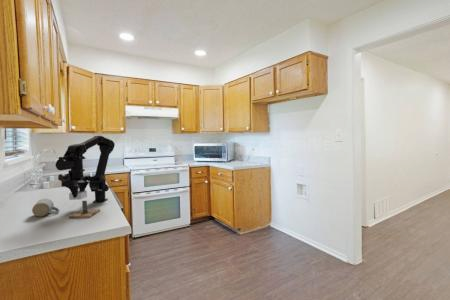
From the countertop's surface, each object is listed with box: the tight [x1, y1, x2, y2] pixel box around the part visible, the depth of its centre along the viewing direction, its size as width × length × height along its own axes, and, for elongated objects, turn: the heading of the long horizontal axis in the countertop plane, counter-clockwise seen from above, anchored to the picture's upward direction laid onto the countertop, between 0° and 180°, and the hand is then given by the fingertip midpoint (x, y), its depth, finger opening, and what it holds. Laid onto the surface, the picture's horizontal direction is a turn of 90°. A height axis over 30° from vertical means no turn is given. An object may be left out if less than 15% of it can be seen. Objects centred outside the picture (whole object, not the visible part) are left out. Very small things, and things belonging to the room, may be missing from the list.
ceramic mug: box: [31, 198, 60, 218], centre depth 120 cm, size 11×8×8 cm
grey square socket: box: [68, 190, 88, 201], centre depth 128 cm, size 6×6×4 cm
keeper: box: [68, 199, 101, 219], centre depth 118 cm, size 10×10×7 cm
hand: (78, 196), depth 128 cm, fingers closed on grey square socket, 6 cm apart
